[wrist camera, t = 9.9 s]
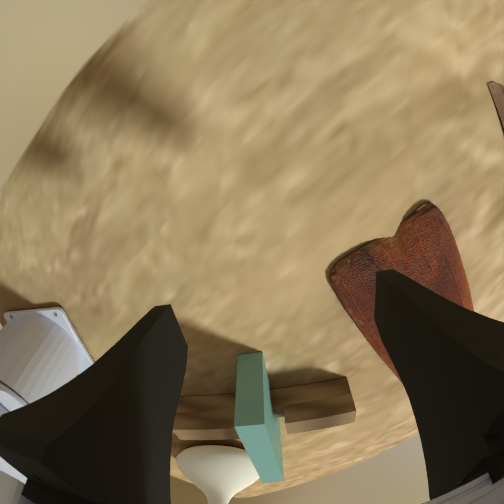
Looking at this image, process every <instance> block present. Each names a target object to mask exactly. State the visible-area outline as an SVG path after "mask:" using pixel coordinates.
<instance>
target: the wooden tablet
mask: <svg viewBox="0 0 504 504" xmlns="http://www.w3.org/2000/svg"><path fill="white" fill-rule="evenodd" d="M388 269H394V270H396V271H398V272H400V273H402V274H403V275H405V276H407V277H409V278H411V279H412V280H414V281H416V282H417V283H419V284H421V285H423V286H424V287H426V288H428V289H430V290H431V291H433V292H435V293H437V294H439V295H441V296H442V297H444V298H446V299H448V300H450V301H452V302H454V303H456V304H458V305H460V306H462V307H464V308H467V309H469V310H471V311H474V310H473V304H472V299H471V294H470V289H469V285H468V282H467V277H466V273H465V270H464V267H463V264H462V261H461V258H460V254H459V251H458V248H457V245H456V242H455V239H454V237H453V234H452V231H451V229H450V227H449V224H448V222H447V221H446V219H445V217H444V215H443V214H442V212H441V211H440V210H439V208H438V207H437V206H435V205H434V204H430V203H426V204H424V205H422V206H420V207H419V208H418V209H417V210H415V211H414V212H413V213H412V214H411V215H409V216H408V217H407V218H406V219H405V220H404V221H403V222H402V223H401V224H400V226H399V227H398V229H397V231H396V233H395V235H394V236H393V237H387V238H380V239H376V240H373V241H370V242H368V243H366V244H363V245H362V246H361V247H359V248H357V249H355V250H354V251H352V252H351V253H349V254H348V255H346V256H345V257H344V258H342V259H341V260H340V261H339V262H337V263H336V264H335V265H334V267H333V269H332V272H331V275H330V281H331V285H332V286H333V288H334V290H335V292H336V293H337V295H338V297H339V298H340V300H341V302H342V304H343V306H344V307H345V309H346V310H347V312H348V313H349V315H350V316H351V318H352V319H353V320H354V322H355V323H356V325H357V326H358V328H359V329H360V331H361V332H362V333H363V335H364V336H365V337H366V339H367V340H368V342H369V343H370V344H371V345H372V347H373V348H374V349H375V350H376V352H377V353H378V354H379V356H380V357H381V358H382V360H383V361H384V362H385V363H386V364H387V365H388V366H389V368H390V369H391V370H392V371H393V372H394V374H395V375H396V376H397V377H398V378H399V379H400V377H399V375H398V373H397V371H396V369H395V367H394V365H393V363H392V361H391V359H390V357H389V355H388V353H387V351H386V349H385V347H384V344H383V342H382V340H381V337H380V334H379V332H378V329H377V326H376V323H375V320H374V309H375V291H376V272H378V271H383V270H388ZM400 381H401V379H400ZM401 382H402V381H401Z"/></svg>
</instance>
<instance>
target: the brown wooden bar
mask: <svg viewBox="0 0 504 504" xmlns="http://www.w3.org/2000/svg"><path fill="white" fill-rule="evenodd" d="M235 398H236V394H223V395H208V396H185V397H180V398H179V402H178V407H177V411H176V415H175V420H174V426H173V431H174V433H175V434H176V435H177V437H178V438H179V439H180V440H224V439H240V438H239V436H238V434H237V432H236V430H235V427H234V419H235ZM270 400H271V404H272V408H273V412H274V416H275V418H279V417H285V425H286V429H287V434H292V433H299V432H306V431H312V430H318V429H324V428H329V427H334V426H339V425H344V424H349V423H353V422H355V415H356V408H355V405H354V401H353V398H352V394H351V391H350V387H349V384H348V381H347V377H344V378H339V379H334V380H329V381H324V382H319V383H313V384H307V385H301V386H294V387H288V388H281V389H273V390H270Z"/></svg>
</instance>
